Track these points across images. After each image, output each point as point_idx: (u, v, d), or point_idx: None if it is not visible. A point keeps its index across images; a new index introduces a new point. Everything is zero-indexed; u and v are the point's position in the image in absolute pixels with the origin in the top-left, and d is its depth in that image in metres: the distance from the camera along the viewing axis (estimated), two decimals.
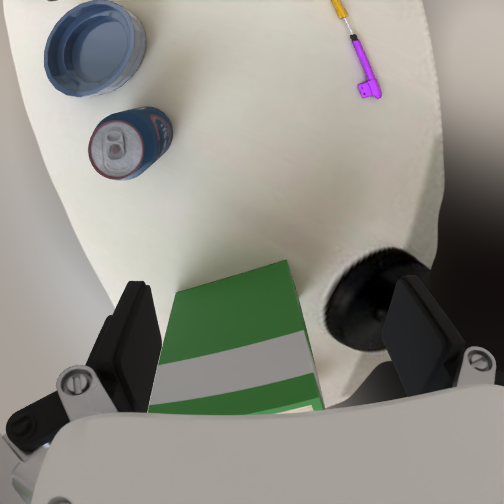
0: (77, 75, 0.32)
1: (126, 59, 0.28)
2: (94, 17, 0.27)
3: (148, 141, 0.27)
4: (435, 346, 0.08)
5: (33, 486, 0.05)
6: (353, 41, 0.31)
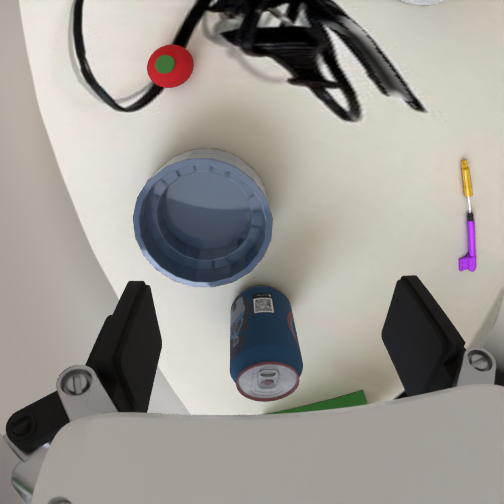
0: (174, 237, 0.32)
1: (259, 255, 0.29)
2: None
3: (300, 372, 0.28)
4: (435, 346, 0.08)
5: (33, 486, 0.05)
6: (469, 221, 0.33)
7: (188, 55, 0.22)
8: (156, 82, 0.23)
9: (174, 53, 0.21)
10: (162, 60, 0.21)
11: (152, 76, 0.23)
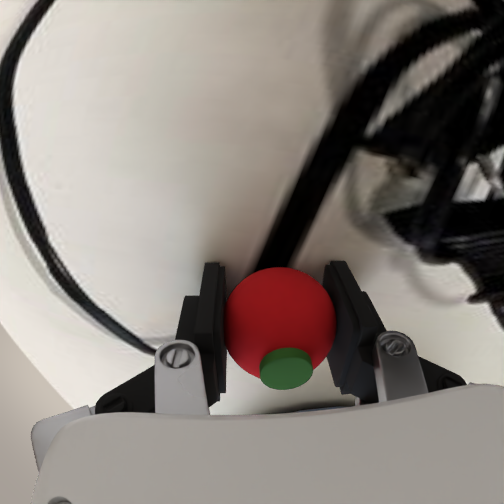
0: None
1: None
2: None
3: None
4: (348, 328, 0.09)
5: None
6: None
7: (334, 316, 0.10)
8: None
9: (308, 336, 0.09)
10: (282, 368, 0.09)
11: None
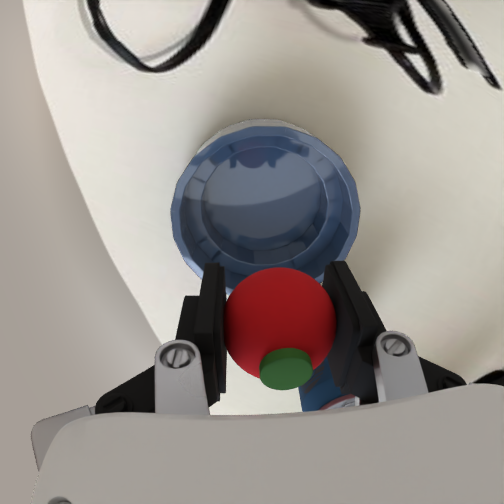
0: (220, 236, 0.25)
1: (340, 257, 0.22)
2: None
3: None
4: (348, 328, 0.09)
5: None
6: None
7: (334, 317, 0.10)
8: None
9: (308, 336, 0.09)
10: (282, 368, 0.09)
11: (243, 369, 0.10)
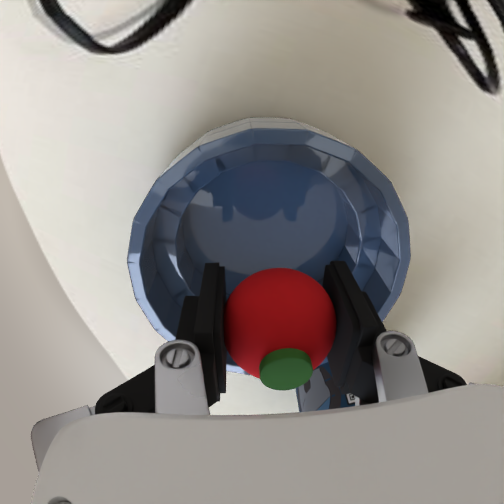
0: None
1: None
2: None
3: None
4: (348, 328, 0.09)
5: None
6: None
7: (333, 317, 0.10)
8: None
9: (308, 336, 0.09)
10: (282, 368, 0.09)
11: (243, 369, 0.10)
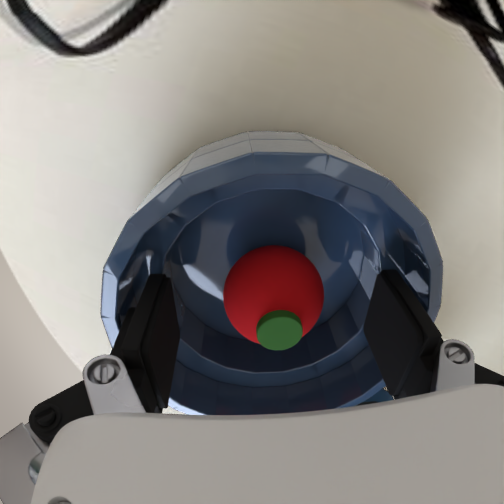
0: (199, 325, 0.15)
1: None
2: None
3: None
4: (411, 338, 0.09)
5: None
6: None
7: (321, 286, 0.12)
8: None
9: (298, 300, 0.11)
10: (275, 328, 0.11)
11: (242, 334, 0.12)
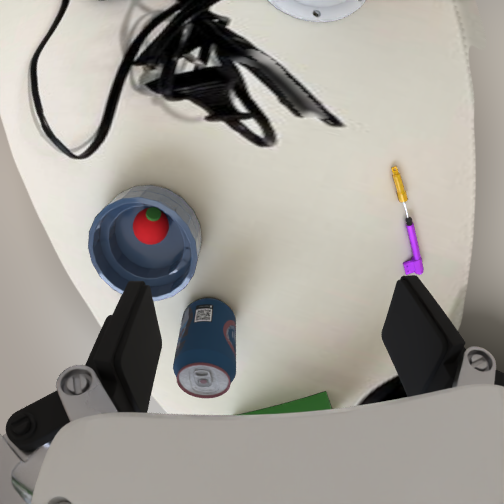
0: (127, 260, 0.37)
1: (190, 273, 0.34)
2: None
3: (232, 372, 0.32)
4: (435, 346, 0.08)
5: (33, 486, 0.05)
6: (408, 226, 0.37)
7: None
8: (143, 232, 0.32)
9: None
10: (151, 210, 0.32)
11: (141, 226, 0.32)
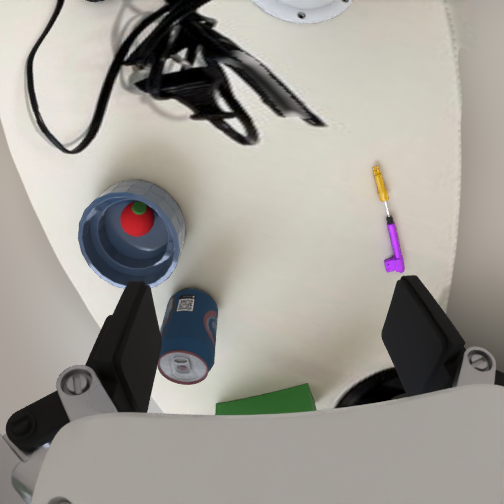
0: (115, 250, 0.39)
1: (173, 264, 0.35)
2: None
3: (210, 360, 0.34)
4: (435, 346, 0.08)
5: (33, 486, 0.05)
6: (388, 224, 0.38)
7: (151, 210, 0.35)
8: (129, 225, 0.33)
9: None
10: (138, 204, 0.33)
11: (127, 219, 0.33)
